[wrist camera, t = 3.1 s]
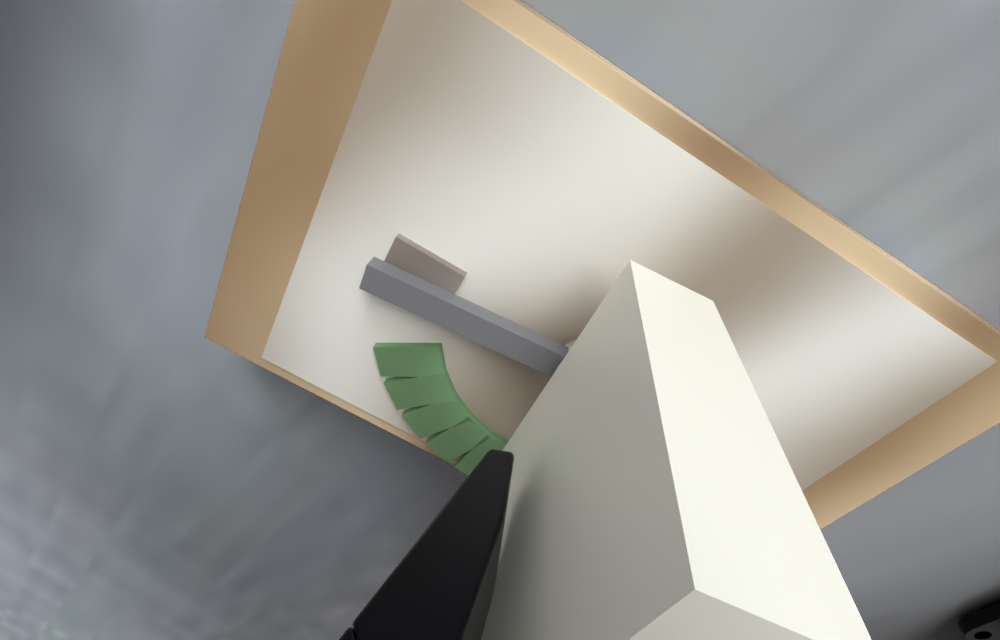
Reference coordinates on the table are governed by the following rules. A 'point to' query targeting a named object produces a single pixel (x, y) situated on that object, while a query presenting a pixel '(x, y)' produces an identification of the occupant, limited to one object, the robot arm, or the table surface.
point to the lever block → (564, 246)
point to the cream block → (644, 480)
